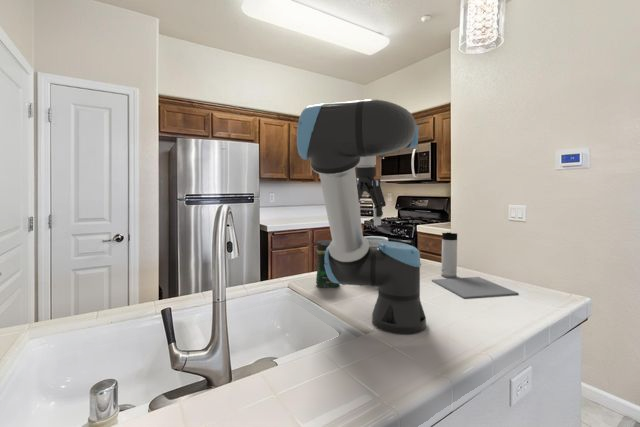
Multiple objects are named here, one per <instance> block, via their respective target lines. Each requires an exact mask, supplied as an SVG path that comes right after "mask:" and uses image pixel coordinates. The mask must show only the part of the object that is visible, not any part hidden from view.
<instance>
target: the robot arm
mask: <svg viewBox="0 0 640 427" xmlns="http://www.w3.org/2000/svg"><path fill="white" fill-rule="evenodd" d="M418 145H419V126H418V124H417V123H416V119H415V118H414V116H413V113H412V112H410V111H409V110H408V109H407V108H405V107H403V106H401V105H399V104H397V103H394V102H391V101H386V100H382V99H372V98H371V99H364V100H362V99H361V100H351V101H350V100H349V101H341V102H340V101H339V102H329V103H328V102H327V103H325V102H322V103H319V104H313V105H308V106H306V107H305V108H304V109H302V111H301V113H300V115H299V118H298V122H297V131H296V147H297V153H298V155H299V157H300V159H302V160H306V161H308V160H309V162H310V167H311V169H312V171H313V172H314V173H316V174H319V179H320V185H321V190H322V194H323V199H324V205H325V209H326V215H327V216H326V217H327V219H328V225H329V230H330V235H331V240H332V241H331V243H330V245H329V246H328V247H327V249H326V252H325V270H326V274H327V276H328V278H329V280H330V281H331V282H333V283H338V284H340V285H341V286H342V285H343V286H345V285H347V286H362V287H363V286H364V287H375V288H376V287H377V288H378V291H377V292H378V294H377V299H376V302H375V305H374V307H373V310H372V317H371V323H372V324H373V326H374V327H375V328H377V329H378V330H381V331H383V332H386V333H390V334H395V335H414V334H418V333H421V332H423V331H424V330H425V329H426V328H427V318H426V317H427V316H426V314H425V311H424V308H423V305H422V301H421V266H422V263H421V253H420V250H419V249H418V248H417V247H416V246H413V245H410V244H407V243H403V242H398V241H389V240H388V242H387V241H382V242H379V244H378V247H374V246H369V242H368V240H367V239H366V238H365V236H364V235H363V229H362V228H363V227H362V218H361V201H360V200H361V198H362V197H363V195H364V192H366V193H367V194H368V195H369V196H370V197H369V198H370V199H371V201H372V203H373V205H374V207H373V227H377V226H381V225H382V216H383V215H382V210H383V207H386V206H387V204H386V201H385V198H384V194H383V189H382V187H381V181H380V179H374V178H375V177H377V167H376V165H377V156H381V155H386V154H389V153H393V152H396V151H401V150H404V149H412V148H416V147H418Z"/></svg>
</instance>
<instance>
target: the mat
mask: <svg viewBox="0 0 640 427" xmlns="http://www.w3.org/2000/svg"><path fill="white" fill-rule="evenodd" d="M431 282H433V283H434V284H436V285H437V286H440V287H441V288H444V289H445V290H448V291H449V292H451V293H452V294H455V295H456V296H458V297H460V298H462V299H475V298H490V297H493V298H494V297H501V296H502V297H505V296H515V295H516V296H519V292H517V291H514V290H513V289H509V288H507V287H505V286H503V285H499V284H497V283H495V282H493V281H491V280H487V279H485V278H483V277H480V276H471V277H469V276H468V277H456V278H437V279H435V278H434V279H431Z"/></svg>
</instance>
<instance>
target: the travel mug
mask: <svg viewBox="0 0 640 427" xmlns="http://www.w3.org/2000/svg"><path fill="white" fill-rule="evenodd" d="M441 235H442V236H441V277H442V278H444V279H451V278H458V277H457V272H458V271H457V269H458V266H457V264H458V232H457V233H453V232H449V231H448V232H442V233H441Z"/></svg>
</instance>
